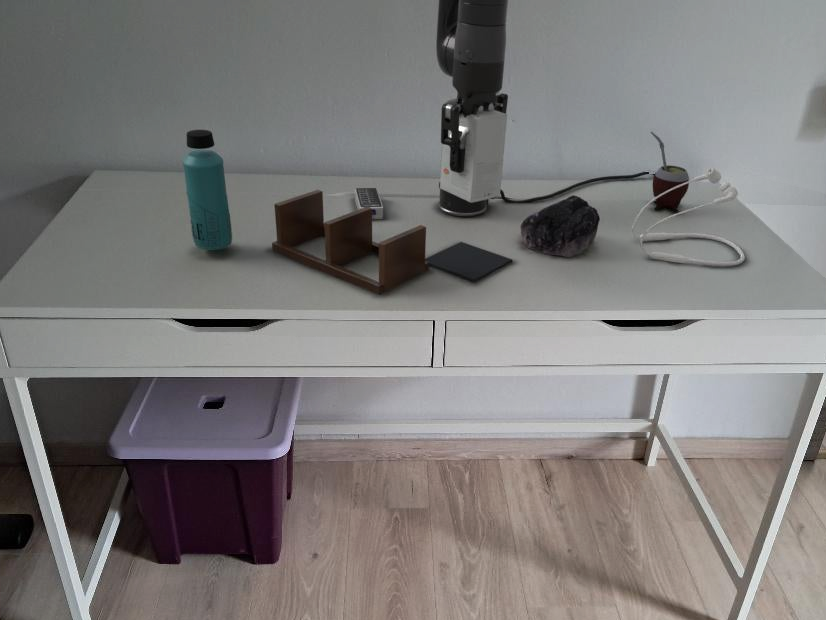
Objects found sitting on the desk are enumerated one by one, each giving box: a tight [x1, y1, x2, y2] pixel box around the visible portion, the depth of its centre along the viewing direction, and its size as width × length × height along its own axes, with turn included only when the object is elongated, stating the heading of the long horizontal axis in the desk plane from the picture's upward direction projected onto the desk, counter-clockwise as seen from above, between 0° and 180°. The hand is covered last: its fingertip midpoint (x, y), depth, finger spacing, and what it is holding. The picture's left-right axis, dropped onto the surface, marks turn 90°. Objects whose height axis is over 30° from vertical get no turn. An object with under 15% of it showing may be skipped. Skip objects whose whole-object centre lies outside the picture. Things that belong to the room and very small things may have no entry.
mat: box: [425, 241, 513, 284], centre depth 135 cm, size 11×11×1 cm
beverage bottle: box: [181, 129, 233, 251], centre depth 128 cm, size 6×7×20 cm
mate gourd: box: [650, 130, 690, 214], centre depth 158 cm, size 8×8×15 cm
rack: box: [271, 189, 430, 296], centre depth 131 cm, size 12×24×8 cm, turn 52°
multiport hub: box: [354, 187, 384, 220], centre depth 153 cm, size 4×11×2 cm, turn 11°
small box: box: [439, 110, 508, 203], centre depth 125 cm, size 8×6×13 cm
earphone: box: [631, 167, 746, 267], centre depth 142 cm, size 14×17×18 cm
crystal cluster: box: [520, 194, 601, 258], centre depth 141 cm, size 13×14×10 cm
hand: (471, 166), depth 126 cm, fingers closed on small box, 7 cm apart
